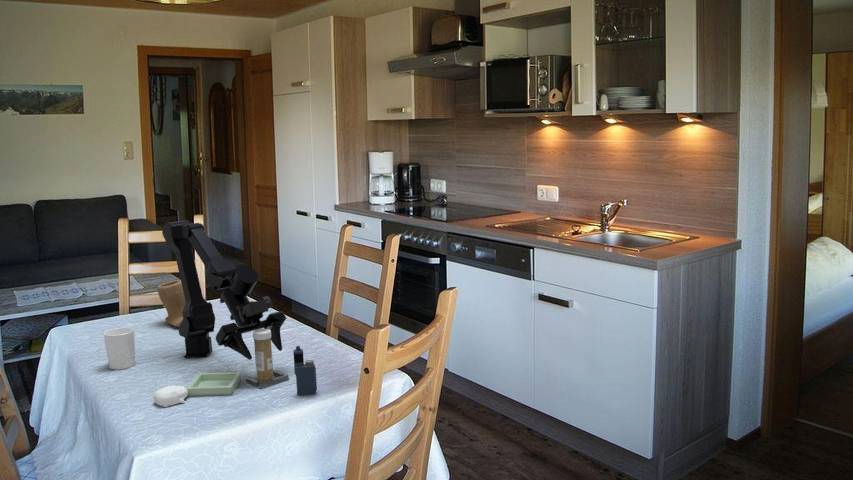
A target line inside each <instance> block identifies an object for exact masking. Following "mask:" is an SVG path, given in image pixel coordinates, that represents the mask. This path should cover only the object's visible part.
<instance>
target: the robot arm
mask: <svg viewBox="0 0 853 480" xmlns="http://www.w3.org/2000/svg"><path fill="white" fill-rule="evenodd" d="M161 232H162V237H163V238H164V240H165V244H166V246H167V247H168V249H170V250H171V251H172V252H173V254H174V255H175V256H174V257H175V261H176V264H177V265H176V266H177V270H178V272H179V278H180V279H179V280H181V283H182V287H183V292H184V296H185V301H186V303H185V306H184V309H183V312H182V315H183V320H182V322H181V324H180V326H179V327H177V329H178V330H177V331H178V334H179V336H180V337H182V338H184V343H185V344H184V345H185V354H184V356H183V357H184V358H207V357H208V356H209V355H210V354H211V352H212V351H213V344H212V341H213V340H212V337H211V336H210V333H214V331H215V324H216V316H215V313H214V309H213V304H212V303H211V302H209V301H206V299H205V298H204V296H203V292H202V287H201V282H200V279H199V274H198V270H197V266H196V265H197V264H196V261H195V257H194V252H193V250H194V251H195V252H196V254H197V256H198V257H199V259H200V260H201V263H203V265H204V266H205V269H206V273H205V278H206V279H207V282H208V285H209V286H210V287H211V288H212V289H213V290H214V291H215V290H216V291H219V290H223V292H221V294H220V299H219V304H223V303H224V304H225V305H226V307H227V309H228V311H229V313H230V316H229V318H230V320H231V321H233V320H234V322H231V323H226V324H223V325H221V326H220V328H219V330H218V331H217V334H216V335H215V342H216V343H217V346H220V347H221V346H223V347H224V348H229V349H231V350H233V351H235V352H237V353H239V354H240V355H241V356H243V357H245V358H246V359H247V360H248V361H251V360H252V358H253V357H252V353H251V352H250V350H249V348H248V346H247V344H246V343H245V340H244V339H243V335H242V334H246V333H250V332H254V331H255V330H258V329H269V330H271V343H272V344H273V345H274V346H275V348H276V349H277V350H278V351H279V352H281V351H282V350H283V345H282V338H281V327H282V326H283V325H284V323H285V321H286V320H287V317H286V314H285V313H284V312H283V311H280V310H279V311H276V312H275V311H274V312H271V313H268V316H267V317H266V319H263V317H264V313H267V312H269V309H271V308H272V307H273V302H272V300H271V298H270V297H269V296H268V295H266V296H262V297H261V298H259V300H255V301H250V299H249V298H248V295H250V294H251V293H252V291H253V289H254V287H255V285H256V284H257V282H258V281H259V278H260V277H259V273H258V271H256V270H255V269H254V268H252V267H251V266H247V265H246V264H245V263H238V264H237V265H236V266H235V265H234V264H233V263H232V262H231V261H230V260H228V259H226V258H224V257H223V256H222V255H221V254H220V252H219V251H218V249H217V247H216V246H215V245H214V243H213V242H212V240H211V238H210V237H209V236H208V235H207V233H206V231H205V226H204V225H203V224H202V223H200V222H195V223H194V222H190V221H189V220H187V219H186V220H179V221H171V222H166V223H165V225H164V227H162V231H161ZM261 319H263V320H261Z"/></svg>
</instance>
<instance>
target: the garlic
mask: <svg viewBox="0 0 853 480" xmlns="http://www.w3.org/2000/svg"><path fill="white" fill-rule="evenodd" d="M187 394H188V390H187V387H186V386H184V385H168V386H164V387H162V388H159V389H158V390H156V391H155V392H154V393H153V401H154V403H155V404H156V405H158V406H159V405H160V407H163V408H168V407H167V406H169V405H171V406H174V405H177V404H178V405H179V404H186V403H188V402H187V401H188V400H185V399H186V398H187ZM185 402H186V403H185Z"/></svg>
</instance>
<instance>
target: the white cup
mask: <svg viewBox="0 0 853 480" xmlns="http://www.w3.org/2000/svg"><path fill="white" fill-rule="evenodd" d="M103 339H104V344H105V345H104V346H105V351H106V357H107V359H108V368H109V369H111V370H119V369H120V370H126V369H130V368H131V367H134V366H135V364H136V356H135V355H136V346H135V345H136V342H135V340H136V339H135V329H134V328H132V327H116V328H111V329H108V330H106V331H104V332H103Z"/></svg>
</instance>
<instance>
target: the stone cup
mask: <svg viewBox="0 0 853 480" xmlns="http://www.w3.org/2000/svg"><path fill="white" fill-rule="evenodd" d="M156 291H157V293H158V294H157V295H158V297H159V300H160V301H161V303H162V304H163V306H164V308H165V310H166V312H167V316H166V317H165V319H164V320H165V322H166V323H168V324H170V325H171V326H174V327H177V328H179V326H180V324H181V322H182V320H183V315H182V312H183V309H184V306H185V303H186V301H185V296H184V292H183V287H182V283H181V279H175V280H170V281H168V282H164V283H161V284H159V285H157V290H156Z"/></svg>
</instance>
